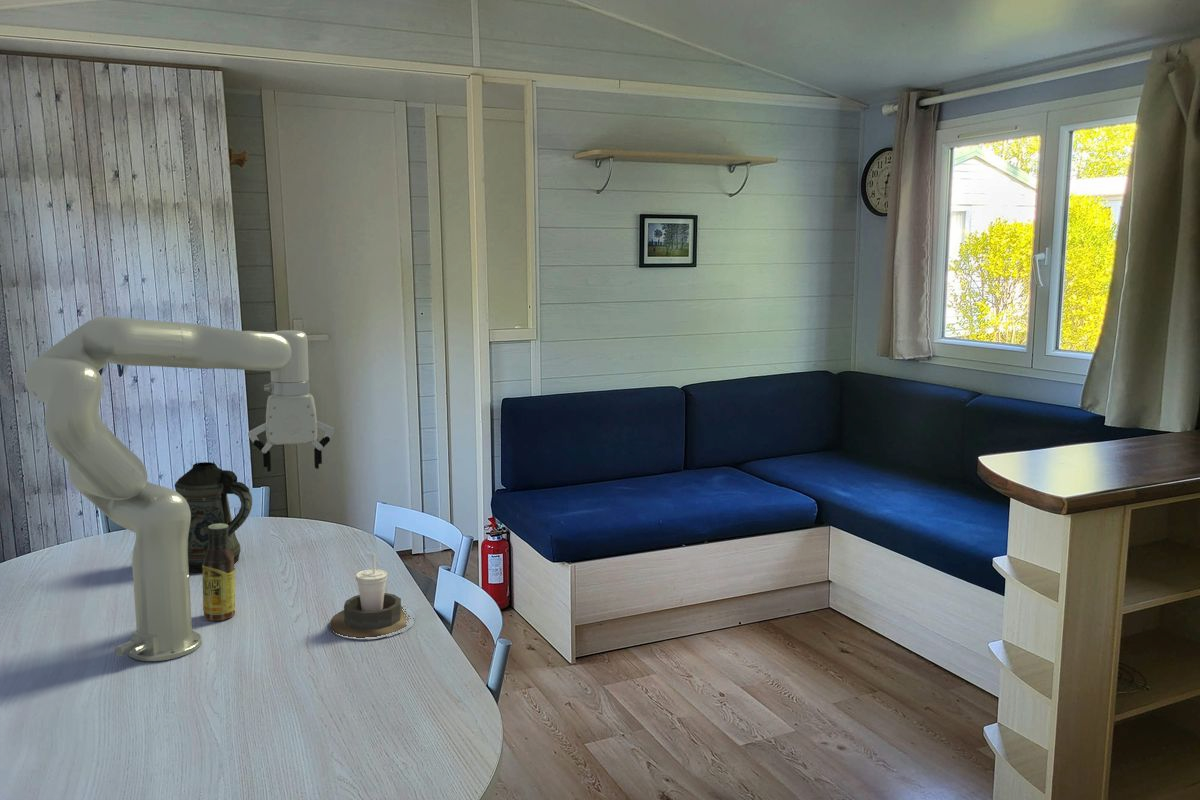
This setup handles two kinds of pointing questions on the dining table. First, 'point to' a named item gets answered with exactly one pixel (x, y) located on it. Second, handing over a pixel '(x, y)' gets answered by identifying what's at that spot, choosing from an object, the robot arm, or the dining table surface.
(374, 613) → the holder
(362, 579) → the smoothie
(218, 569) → the sauce bottle
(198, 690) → the dining table surface
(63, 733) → the dining table surface
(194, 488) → the beer stein
